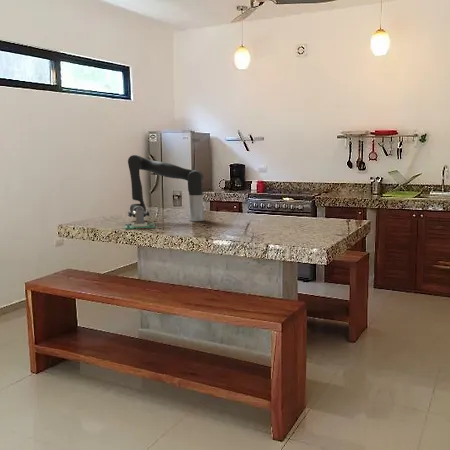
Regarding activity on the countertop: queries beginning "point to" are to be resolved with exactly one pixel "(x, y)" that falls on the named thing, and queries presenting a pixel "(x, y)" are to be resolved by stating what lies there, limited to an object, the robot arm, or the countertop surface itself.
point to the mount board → (139, 225)
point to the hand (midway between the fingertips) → (139, 215)
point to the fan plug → (139, 216)
